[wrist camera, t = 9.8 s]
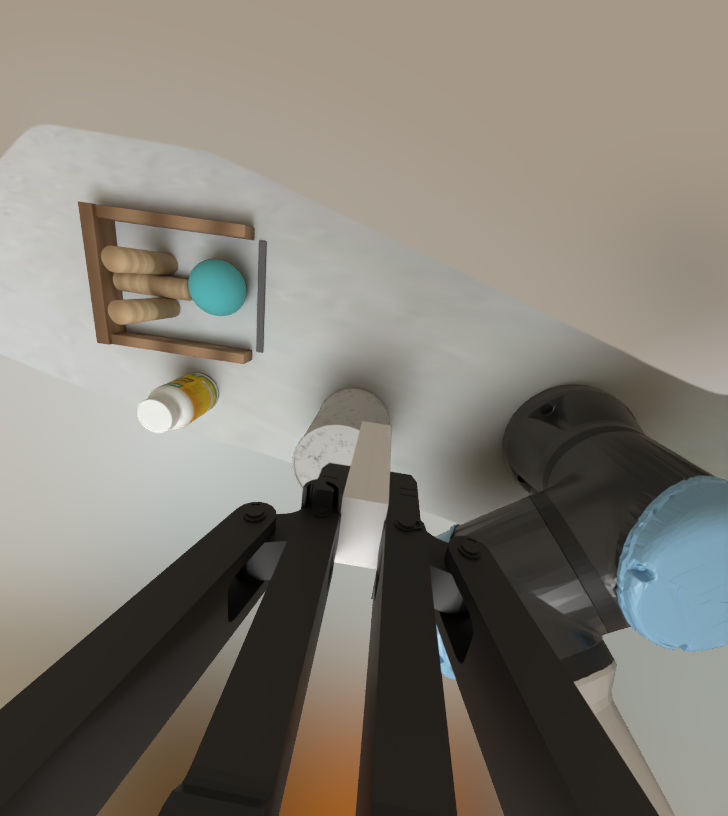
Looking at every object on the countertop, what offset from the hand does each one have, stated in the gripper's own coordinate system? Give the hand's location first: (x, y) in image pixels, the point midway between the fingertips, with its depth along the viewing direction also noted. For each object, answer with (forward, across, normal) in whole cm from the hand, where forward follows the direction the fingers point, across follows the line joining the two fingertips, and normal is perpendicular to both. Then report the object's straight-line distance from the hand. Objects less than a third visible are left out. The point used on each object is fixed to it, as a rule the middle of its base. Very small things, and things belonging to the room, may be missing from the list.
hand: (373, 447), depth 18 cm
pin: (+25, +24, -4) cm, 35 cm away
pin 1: (+26, +28, -6) cm, 39 cm away
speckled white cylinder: (+27, +3, +10) cm, 29 cm away
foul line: (+26, +16, -4) cm, 31 cm away
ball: (+23, +20, -5) cm, 31 cm away
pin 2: (+26, +28, -2) cm, 38 cm away
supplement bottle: (+27, +24, +9) cm, 37 cm away
